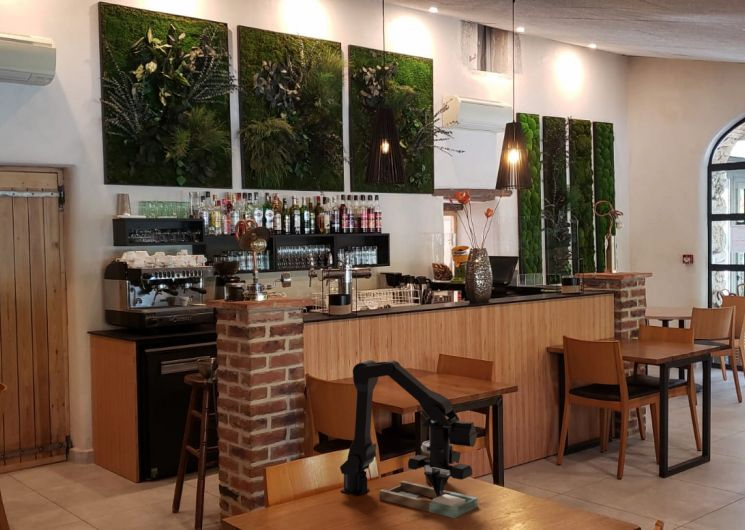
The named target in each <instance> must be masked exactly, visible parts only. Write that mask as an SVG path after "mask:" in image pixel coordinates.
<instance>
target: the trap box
mask: <svg viewBox="0 0 745 530" xmlns="http://www.w3.org/2000/svg"><path fill="white" fill-rule="evenodd" d="M399 482H400V484H399V485H397V486H395V487H393V488H390V489H388V490H387V489H380V490H379V500H381V501H386V502H389V503H394V504H396V505H401V506H406V507H409V508H414V509H418V510H422V511H424V512H428V513H432V514H437V515H440V516H445V517H449V518H452V519H457V518H459V517H461V516H463V515H464V514H466V513H468V512H470V511H472V510H473V509H475V508H478V504H479V503H478V502H479V501H478V500H479V499H478V497H475V496H471V495H466V494H462V493H458V492H455V491H449V490H446V489H444V490H443V493H442V495H444V494H447V495H451V496H454V497H458V498H462V499H465V503H464V504H463V505H461V506H459V507H453V506H449V505H444V504H440V503H436V502H433V500H432V501H431V500H429V499H424V498H420V497H421V495H422V496H423V495H424V497H428V498H432V499H434V498H437V495H436V493H435V491H434V489H433V486H430V485H429V486H428V485H424V484H419V483H417V482H415V483H414V482H412V481H411V482H410V481H406V480H401V481H399ZM419 496H420V497H419Z"/></svg>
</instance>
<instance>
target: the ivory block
mask: <svg viewBox="0 0 745 530" xmlns="http://www.w3.org/2000/svg"><path fill="white" fill-rule="evenodd" d="M432 502H436V503H440V504H444V505H449V506H453V507H459V506H461V505H463V504H464V503H465V499H462V498H458V497H454V496H451V495H447V494H444V495H442V496H439V497H437V498H432Z"/></svg>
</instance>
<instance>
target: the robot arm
mask: <svg viewBox="0 0 745 530" xmlns="http://www.w3.org/2000/svg"><path fill="white" fill-rule="evenodd" d="M386 376H388V377H389V378H390V379H391V380H392V381H394V382H395V383H396V384H397V385H398V386H400V387H401V388H402V389H403V390H404V391H405V392H407V394H409V395H410V396H411V397H412V398H414V399H415V400H416V401H417V402H418V404H419V405H420V408H421V409H422V412H424V413H425V414H426V416H427V419H426V421H424V422H423V423H422V426H423V427H427V428H429V440H428V441H429V446H428V447H427V450H428V451H429V458H428V457H426V456H423V455H422V454H421V455H420V454H416V455H415V456H412V457H409V459H408V460H407V468H408V469H410V470H415V471H416V470H417V469H419V467H421V468H424V467H425V469H424V471H423V474H424V476H425V475H426V476H427V477H428V479H429V481H430V483H431V484H430V485H431V487H433V489H434V491H435V493H436V495H437V497H439V496H442V493H443V490H445V488H446V486H447V485H446V484H447V482H448V480H449V479H450V477H451V478H452V479H456V480H465V479H467V478H469V477H471V476H473V468H472V467H471V465H470V464H465V463H460V460H461V455H462V452H460V451H456V450H454V449H453V446H461V447H470V448H474V446H475V445H476V442H477V437H478V435H477V430H476V427H475V423H474V422H473V421H461V419H460V418H459V416H458V415H457V413H456V411H455V410H454V408H453V403H452V402H451V400H450V398H447V397H445V396H444V395H442V394H440V393H438V392H436V391H433V390H431V389H429V388H428V387H427V386H426V385H425V384H423V383H422V382H421V381H419V380H418V379H417V378H416V377H415V376H414V375H412V374H411V373H410V372H409V371H408V370H407V369H405V368H404V367H403V366H402V365H401V364H400V363H399V362H398V361H396V360H390V361H379V362H378V361H377V362H376V361H374V360H372V359H368V360H365V361H362V362H359V363H357V364H355V365H354V366H353V368H352V380H353V384H354V387H355V390H356V403H355V404H356V405H355V420H354V436H353V437H354V438H353V440H352V442H351V445H350V447H349V449H348V454H347V459H346V460H345V461H344V462H343V464H341V465H340V466H339V469H340V472H341V474H342V475H343V488H342V489H340V492H341V493H344V494H348V495H352V496H360V495H362V494H365V493H367V492H369V491H370V488H368V477H367V471H366V470H368V469H369V467H370V465H371V463H373V462H374V460H375V458H376V457H377V453H376V450H377V443H373V441H372V439H371V428H372V427H371V426H372V413H373V411H372V409H373V395H374V394H373V393H374V389H375V387H376V385H377V383H378V380H379V378H381V377H386ZM451 444H452V445H451ZM454 463H457V464H455V465H452V464H454ZM450 464H451V465H450ZM442 467H443V468H442ZM444 467H445V468H444Z"/></svg>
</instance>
